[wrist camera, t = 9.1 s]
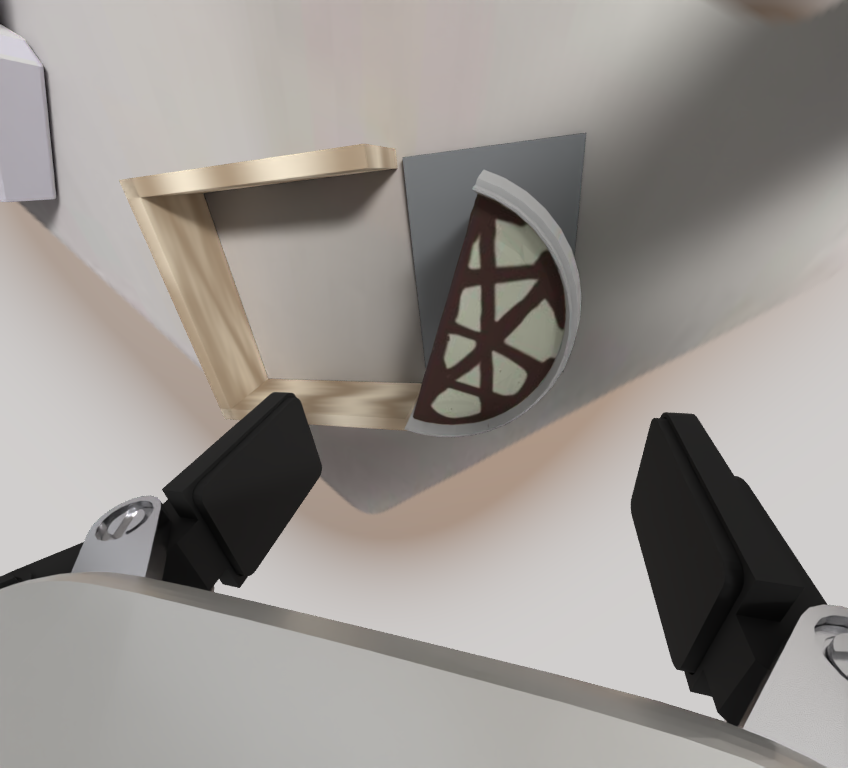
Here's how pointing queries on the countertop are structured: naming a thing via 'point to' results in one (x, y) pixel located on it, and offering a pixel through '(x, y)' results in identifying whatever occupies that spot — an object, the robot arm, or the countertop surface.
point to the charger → (23, 124)
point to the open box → (218, 297)
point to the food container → (500, 317)
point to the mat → (454, 199)
